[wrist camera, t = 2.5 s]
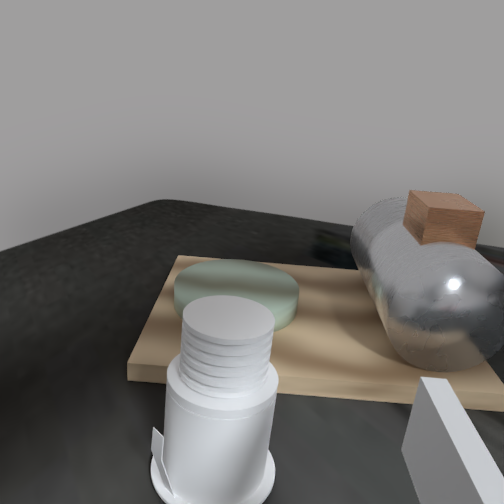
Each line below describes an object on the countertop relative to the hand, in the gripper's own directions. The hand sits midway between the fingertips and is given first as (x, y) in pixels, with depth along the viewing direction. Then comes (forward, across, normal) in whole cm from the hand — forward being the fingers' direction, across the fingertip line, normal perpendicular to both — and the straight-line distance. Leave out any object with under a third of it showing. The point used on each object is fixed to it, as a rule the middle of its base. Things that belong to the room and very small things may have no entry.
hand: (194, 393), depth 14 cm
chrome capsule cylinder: (+27, +16, -11) cm, 33 cm away
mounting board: (+26, +7, -12) cm, 30 cm away
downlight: (+9, 0, -12) cm, 15 cm away
